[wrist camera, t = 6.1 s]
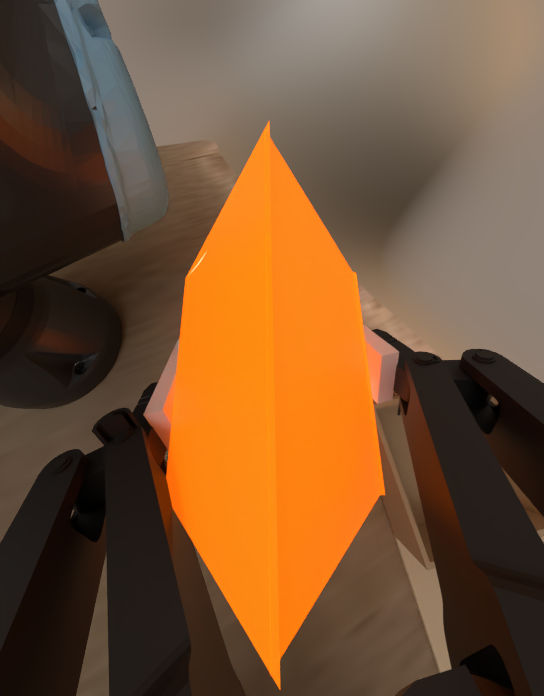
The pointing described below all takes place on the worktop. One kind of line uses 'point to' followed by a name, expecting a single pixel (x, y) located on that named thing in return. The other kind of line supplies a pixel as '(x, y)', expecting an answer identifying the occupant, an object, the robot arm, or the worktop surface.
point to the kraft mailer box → (418, 523)
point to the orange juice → (272, 405)
